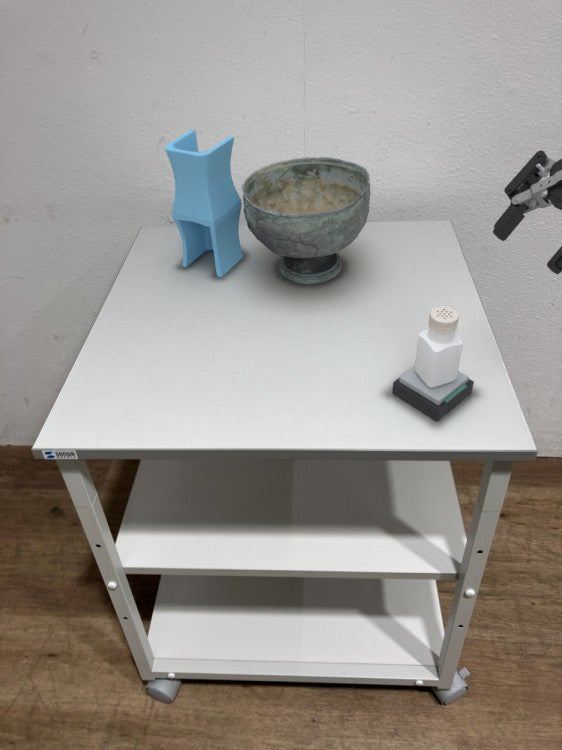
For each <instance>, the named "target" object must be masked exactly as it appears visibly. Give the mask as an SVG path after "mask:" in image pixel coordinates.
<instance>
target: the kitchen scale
mask: <svg viewBox="0 0 562 750" xmlns="http://www.w3.org/2000/svg"><path fill="white" fill-rule="evenodd" d="M474 384H475V381H474V380H472V379H470V376H469V375H467V374H464V372H463V373H462V372H461V371H459V370H458V373H457V378H456V379H455V380H454V381H452V382H449V383H446V384H443V385H440V386H437V387H434V388H430V387H428V386H427V385H426V384H425V382H424V381H423V380H422V379H421V378H420V376H419V375H418V374H417V373H416V371H415V365H414V366H413V367H412V368H410V369H409V370H408V371H406V372H405V373H403V374H402V375H400V377H398V378H397V379H395V380H394V381H393V383H392V393H391V394H393V395H394V396H395V397H397V398H399V399H400V400H402V401H404V402H405V403H407V404H409V405H410V406H411V407H413V408H415V409H417V411H419V412H421V413H423V414H424V415H426V416H427V417H429V418H431V419H432V420H434V421H435V422H439V421H440V420H442V418H444V417H445V416H446V415H447V414H448V413H449V412H451V411H452V410H453V409H454V408H456V407H457V406H458V405H459V404H460V403H462V402H463V401H464V400H465V399H467V398H468V397H469V396H470V395H471V394H472V393H473V389H474Z"/></svg>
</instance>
